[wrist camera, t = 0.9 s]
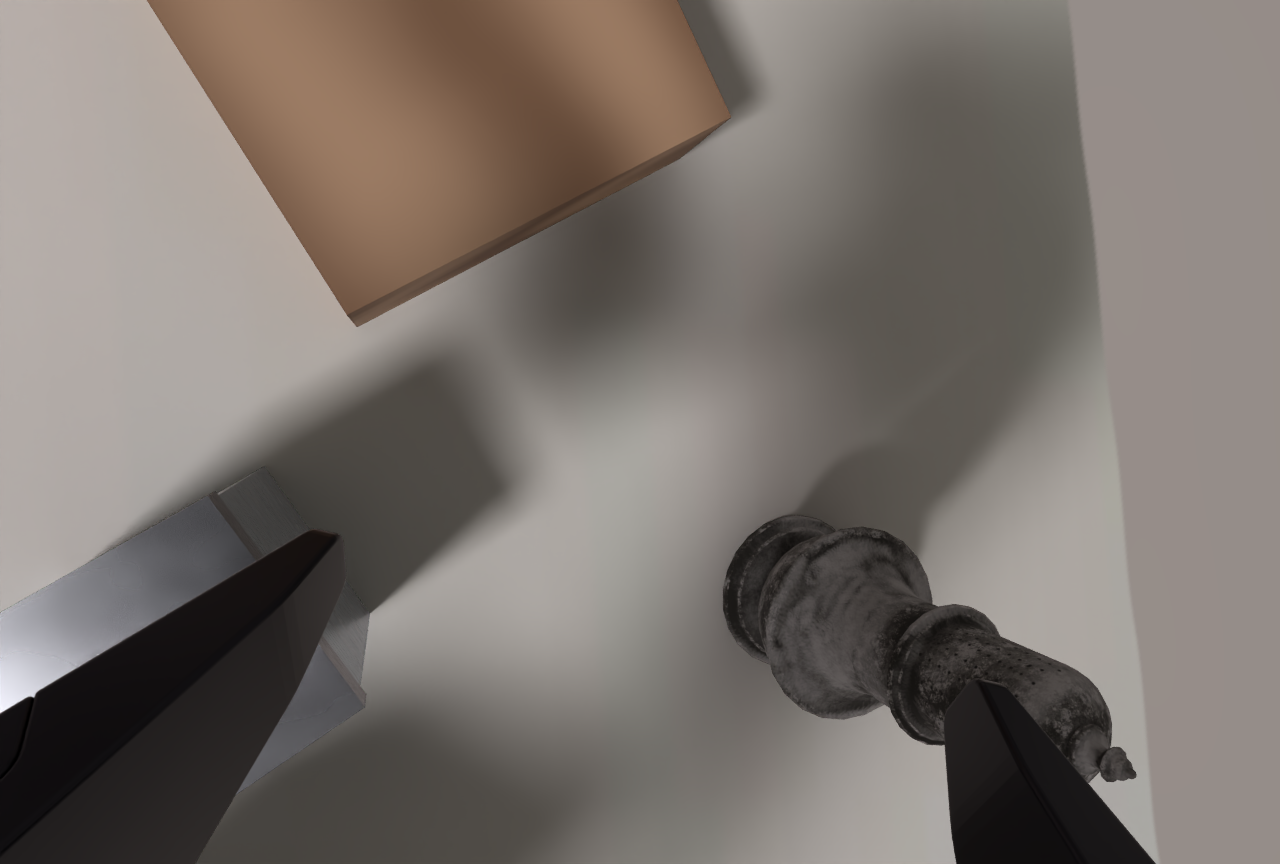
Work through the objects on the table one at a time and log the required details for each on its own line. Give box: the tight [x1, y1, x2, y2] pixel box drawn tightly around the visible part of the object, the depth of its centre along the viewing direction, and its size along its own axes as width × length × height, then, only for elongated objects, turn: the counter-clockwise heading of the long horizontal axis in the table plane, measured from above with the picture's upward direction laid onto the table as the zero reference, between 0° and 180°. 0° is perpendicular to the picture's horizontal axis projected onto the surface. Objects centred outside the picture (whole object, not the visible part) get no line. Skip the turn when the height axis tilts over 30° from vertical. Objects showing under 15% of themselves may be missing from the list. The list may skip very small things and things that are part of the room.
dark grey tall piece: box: [723, 515, 1136, 783], centre depth 18 cm, size 6×6×12 cm
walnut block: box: [147, 0, 731, 327], centre depth 18 cm, size 11×11×4 cm
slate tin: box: [0, 466, 370, 794], centre depth 16 cm, size 5×5×6 cm
